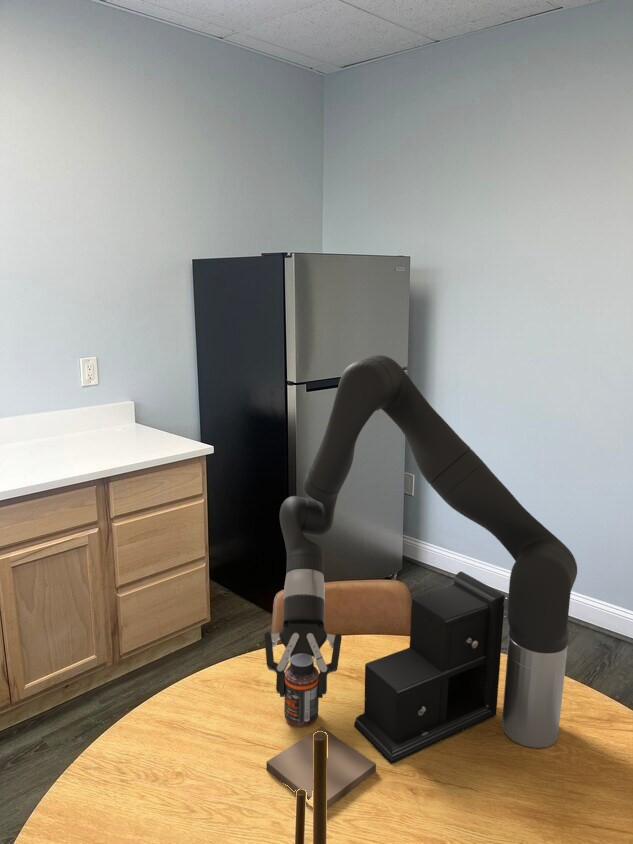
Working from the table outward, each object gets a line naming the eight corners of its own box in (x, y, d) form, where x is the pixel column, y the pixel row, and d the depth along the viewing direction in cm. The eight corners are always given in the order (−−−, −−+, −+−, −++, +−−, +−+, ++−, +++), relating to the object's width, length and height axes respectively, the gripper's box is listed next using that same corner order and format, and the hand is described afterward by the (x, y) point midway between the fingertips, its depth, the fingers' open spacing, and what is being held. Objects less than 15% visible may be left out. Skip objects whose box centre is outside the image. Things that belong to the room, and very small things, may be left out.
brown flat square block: (321, 734, 112) (321, 726, 111) (375, 772, 103) (376, 763, 103) (266, 769, 104) (266, 761, 103) (320, 814, 95) (320, 805, 95)
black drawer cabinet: (390, 766, 105) (396, 630, 100) (352, 726, 114) (355, 600, 109) (497, 717, 117) (507, 594, 112) (455, 685, 126) (462, 569, 121)
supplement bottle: (277, 717, 116) (276, 659, 113) (301, 702, 120) (301, 645, 118) (301, 733, 112) (302, 673, 109) (325, 717, 116) (326, 658, 114)
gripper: (263, 591, 119) (257, 691, 110) (344, 593, 119) (344, 693, 110) (266, 604, 125) (260, 700, 116) (342, 606, 125) (343, 701, 116)
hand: (301, 696), depth 113 cm, fingers closed on supplement bottle, 6 cm apart
